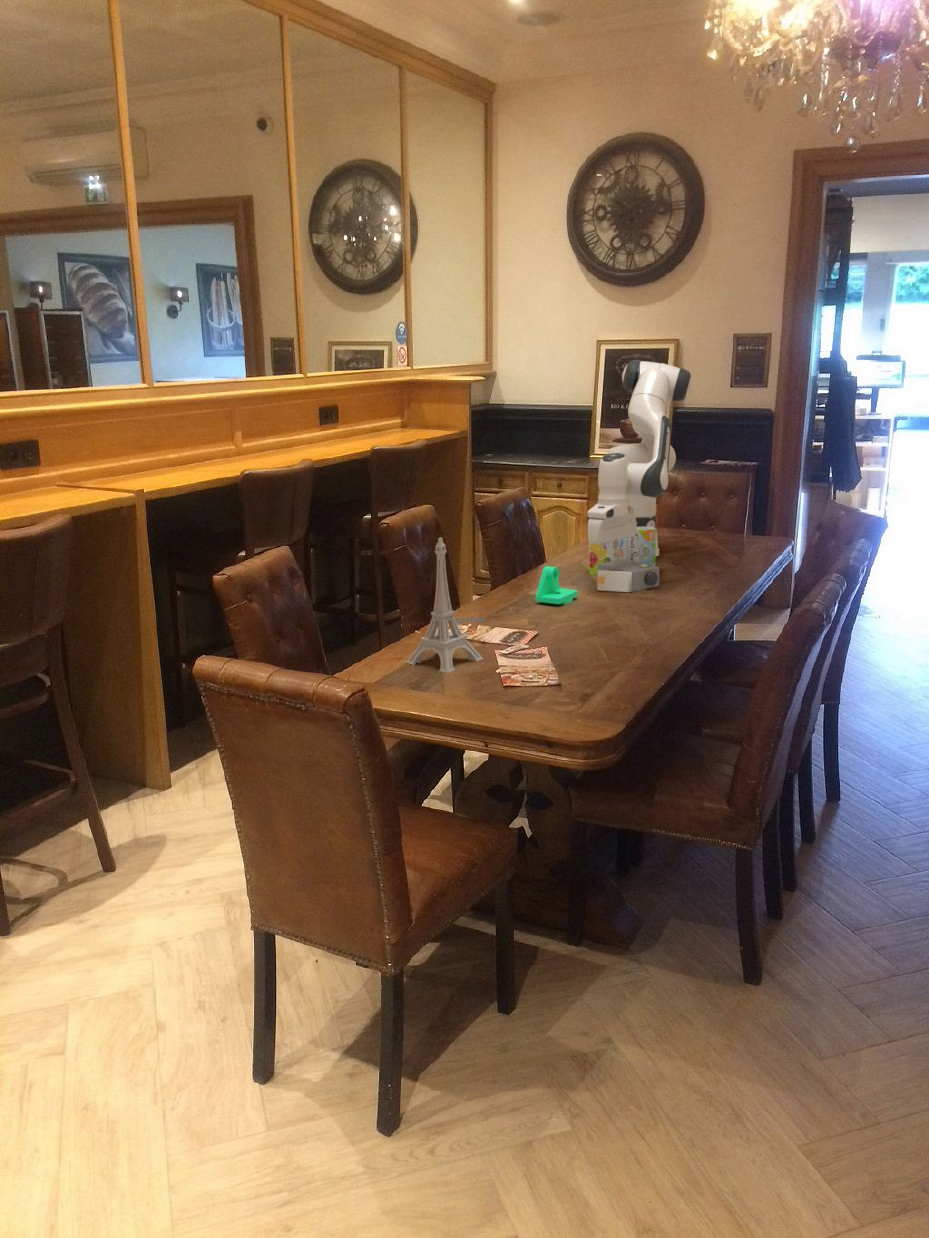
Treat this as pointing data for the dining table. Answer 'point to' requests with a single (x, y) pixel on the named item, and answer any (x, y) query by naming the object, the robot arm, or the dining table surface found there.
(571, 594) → the camera mount
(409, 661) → the eiffel tower
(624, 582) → the side door
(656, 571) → the camera case
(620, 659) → the dining table surface
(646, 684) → the dining table surface
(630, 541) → the snack box
